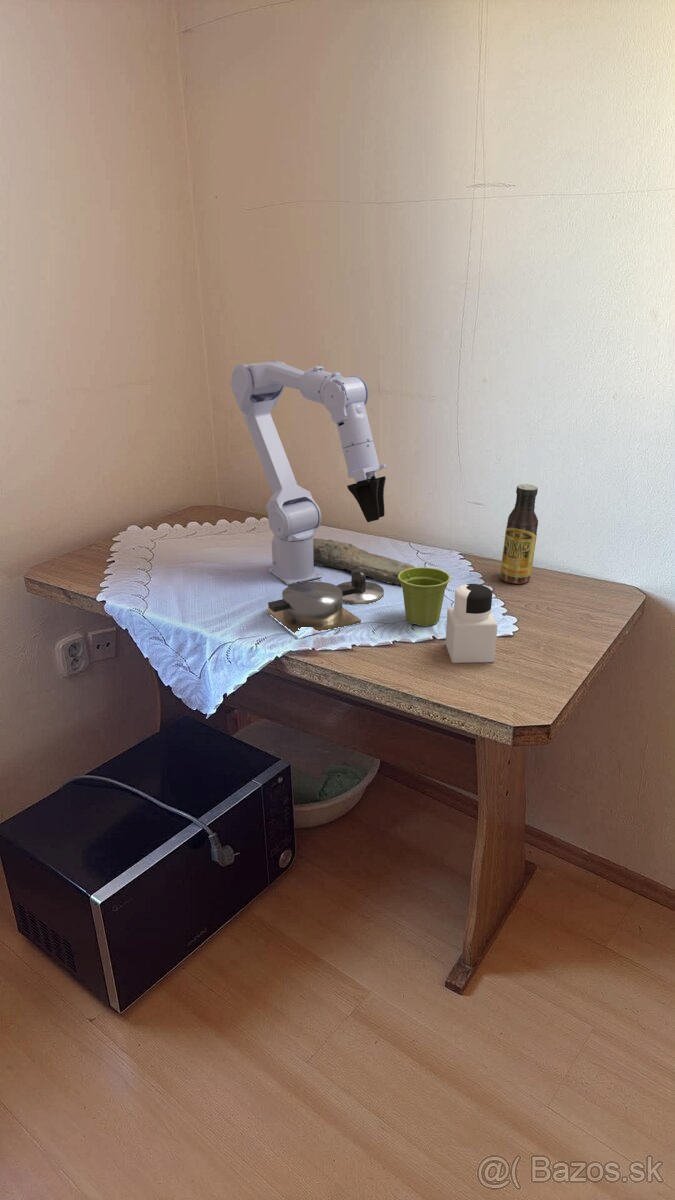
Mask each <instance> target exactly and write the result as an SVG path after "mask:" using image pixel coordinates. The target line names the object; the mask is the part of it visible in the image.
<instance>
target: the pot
mask: <svg viewBox="0 0 675 1200" xmlns="http://www.w3.org/2000/svg"><path fill="white" fill-rule="evenodd" d="M350 594H355V588H353V587H352V586H350V585H349V584H347V585H343V586H339V587H338V586H337V585H335V584H333V583H329V582H324V581H313V580H309V581H303V582H299V583H294V584H289V586H287V587H285V588H284V589H283V591H282V594H281V596H282V599H277V600H273V601H269V602H268V603H267V605H268V608H267V609H265V612H266V611H267V612H268V613H269V614H270V615H272V616H273V617H274V618H276V619H277V620H278V621H279V622H281V623H282V624H283V625H284V626H286V627H287V628H288V629H290V630H291V631H292V632H294V633H295V632H296V631H299V630H298V628H299V629H300V628H301V627H313V628H314V629H315V630H318V631H321V630H328V629H334V628H338V627H343V628H345V627H344V626H347V627H350V626H349V625H351V626H354V625H353V624H355V625H358V624H357V623H359V624H361V623H362V620H361V618H359V617H358V616H356V615H354V614H353V613H352V612H351V611H349V610H348V609H346V608H344V606H343V603H342V596H346V595H350ZM270 615H269V616H270ZM360 622H361V623H360Z"/></svg>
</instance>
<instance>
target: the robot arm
mask: <svg viewBox="0 0 675 1200" xmlns="http://www.w3.org/2000/svg"><path fill="white" fill-rule="evenodd" d="M324 369H325V368H324V366H321V365H317V366H316V365H315V366H313V367H311V368H309V369H307V370H305V371H304V370H302V369H299V368H297V367H295V366H291V365H289V364H286V363H285V362H284V361H279V360H276V359H273V360H270V361H264V362H263V361H262V362H254V363H247V364H244V363H238V364H237V365H236V366H234V368H233V371H232V373H231V380H230V387H231V390H232V393H233V395H234V398H235V400H236V403H237V405H238V409H239V411H240V412H241V413H242V417H243V419H244V422H245V425H246V428H247V430H248V432H249V434H250V437H251V440H252V444H253V446H254V448H255V451H256V454H257V456H258V458H259V461H260V463H261V466H262V469H263V471H264V474H265V477H266V479H267V482H268V485H269V488H270V489H271V490H270V491H271V493H272V495H271V497H270V499H269V500H268V502H267V504H266V505H265V509H266V512H267V516H268V517H267V518H268V525H269V529H270V530H271V532H272V533H273V535H274V536H273V537H272V539H271V559H272V560H271V561H272V564H271V565H272V567H268V572H270V573H271V574H273V575H274V576H276V577H277V578H278V579H280V580H281V581H282V582H284V583H285V584H286V585H293V583H294V584H296V583H297V582H299V583H301V582H309V581H313V580H317V579H321V578H322V577H323V575H322V574H321V573H319V572H317V571H316V570H314V567H315V566H314V565H315V563H314V557H313V538H314V535H315V534H317V529H318V528H319V527H320V526H321V523H322V512H321V509H320V507H319V505H318V503H317V502H316V501H315V499H314V498H313V496H312V493H311V491H310V490H307V489H305V488H303V487H302V486H301V485H299V484H298V483H297V480H296V478H295V474H294V472H293V470H292V467H291V465H290V461H289V459H288V456H287V454H286V452H285V448H284V446H283V443H282V441H281V440H282V439H281V438H280V436H279V432H278V430H277V428H276V424H275V422H274V420H273V416H272V413H271V412H272V409H273V408H275V407H277V405H278V402H279V400H280V399H281V396H282V393H283V392H284V389H285V388H286V387H287V388H291V389H294V390H299V391H300V394H301V395H302V396H301V397H303V398H304V399H306V400H308V401H312V402H314V403H315V402H316V403H318V404H320V405H322V406H323V405H324V407H325V409H326V411H328V412H329V413H330V416H331V420H332V422H333V423H334V424H336V428H337V433H338V437H339V441H340V444H341V448H342V453H343V457H344V460H345V461H344V462H345V464H346V469H347V472H348V473H347V477H348V478H353V481H354V483H352V484H348V485H346V486H347V490H348V491H349V492H350V493H351V495H352V496H353V497H354V499H355V501H357V504H358V505H359V508H360V510H361V511H362V514H363V516H364V518H365V520H366V522H367V523H370V522H375V521H378V520H380V518H382V517H385V514H386V513H385V500H384V499H385V497H384V496H385V495H384V493H385V486H386V485H385V484H386V479H387V478H386V476H380V477H378V476H377V472H378V471H381V470H382V469H385V468H387V464H386V463H383V464H380V462H379V458H378V454H377V449H376V446H375V443H374V442H375V441H374V438H373V437H374V436H373V433H372V429H371V425H370V420H369V418H368V417H369V416H368V412H367V408H366V405H367V403H368V401H369V396H370V395H369V388H368V385H367V383H366V381H365V380H364V379H363V378H362V377H361V376H358V375H357V374H356V375H355V374H354V375H351V376H348V377H344V376H342V373H340V372H338V371H337V372H329V371H325V370H324Z"/></svg>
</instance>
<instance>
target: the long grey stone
mask: <svg viewBox="0 0 675 1200" xmlns="http://www.w3.org/2000/svg"><path fill="white" fill-rule="evenodd" d="M313 557H314V565H320V566H326V567H330V568H332V569H338V570H345V569H346V571H349V572H352V570H354V569H363V570H365V571H366V577H369V578H372V579H375V580H378V581H380V580H381V581H380V582H384V583H386V582H389V583H388V584H392V583H393V584H395V585H399V586H401V583H400V581H399V579H398V574H399V573H400V572H401V571H404V570H406V569H409V568H417V567H416V566H415V565H413V564H410V563H407V562H402V561H399V560H396V559H393V558H390V557H387V556H383V555H378V554H375V553H371V552H368V551H366V550H364V549H361V548H358V547H357V546H356V545H353V544H352V543H347V542H343V541H337V540H332V539H331V538H330V539H323V538H315V537H313Z"/></svg>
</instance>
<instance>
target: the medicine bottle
mask: <svg viewBox="0 0 675 1200" xmlns="http://www.w3.org/2000/svg"><path fill="white" fill-rule="evenodd" d="M453 603H454V604H453V606H452V607H451V606H450V607H447V610H446V611H447V613H446V628H445V646H446V649H447V652H448V654H449V658H450V660H451V663H452V664H466V663H470V664H471V663H472V664H474V663H477V664H478V663H494V662H495V658H496V647H497V635H498V622H497V620H496V618H495V616H494V615H493V612H492V603H493V591H492V590H491V588H489V587H487V586H486V585H483V584H480V583H466V584H462V585H459V586H458V587H456V588H455V590H454V602H453Z"/></svg>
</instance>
